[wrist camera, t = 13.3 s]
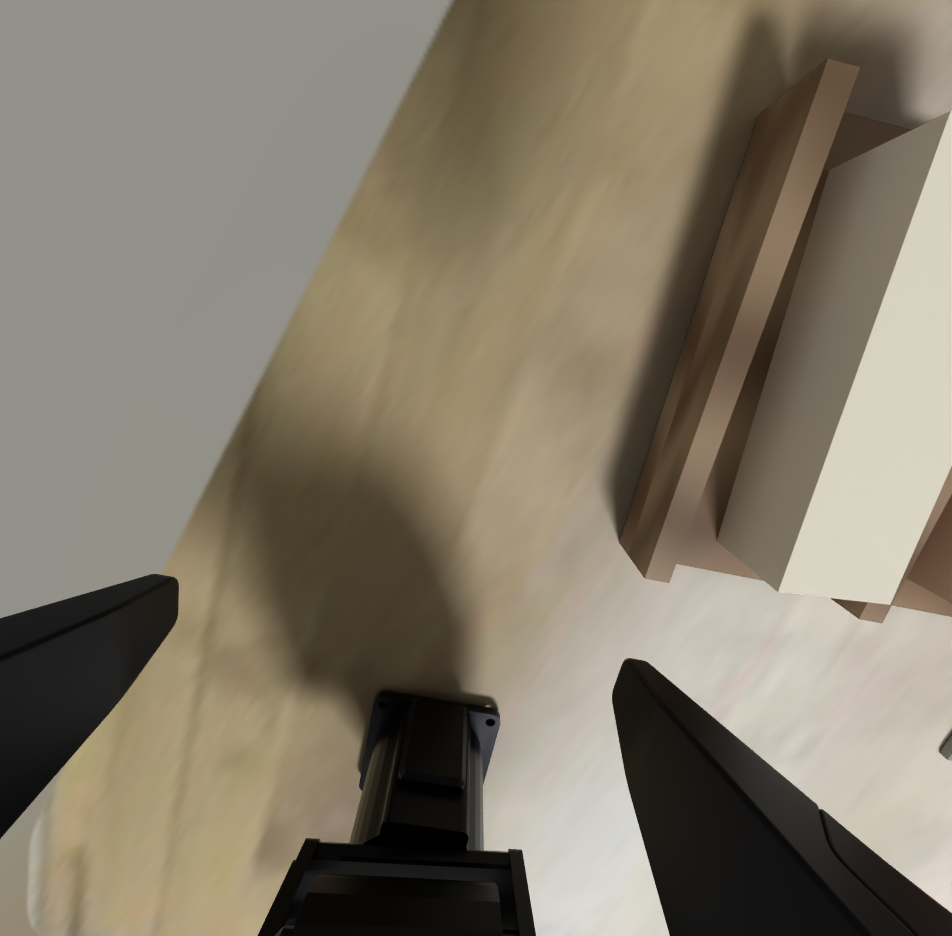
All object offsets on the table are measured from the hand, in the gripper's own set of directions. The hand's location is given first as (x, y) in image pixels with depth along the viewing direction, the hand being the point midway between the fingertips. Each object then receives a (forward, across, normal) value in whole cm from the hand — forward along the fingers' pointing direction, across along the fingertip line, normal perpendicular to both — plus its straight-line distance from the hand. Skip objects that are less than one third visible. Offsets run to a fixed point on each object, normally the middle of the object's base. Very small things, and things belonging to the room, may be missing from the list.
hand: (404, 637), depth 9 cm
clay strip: (+10, -14, -7) cm, 18 cm away
